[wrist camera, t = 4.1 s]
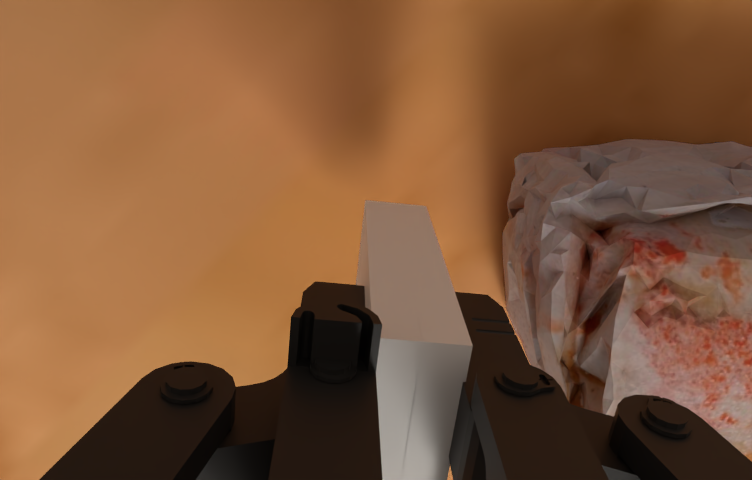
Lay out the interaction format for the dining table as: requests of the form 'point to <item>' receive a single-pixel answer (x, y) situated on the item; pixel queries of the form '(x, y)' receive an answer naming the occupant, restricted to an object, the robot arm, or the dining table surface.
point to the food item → (637, 275)
